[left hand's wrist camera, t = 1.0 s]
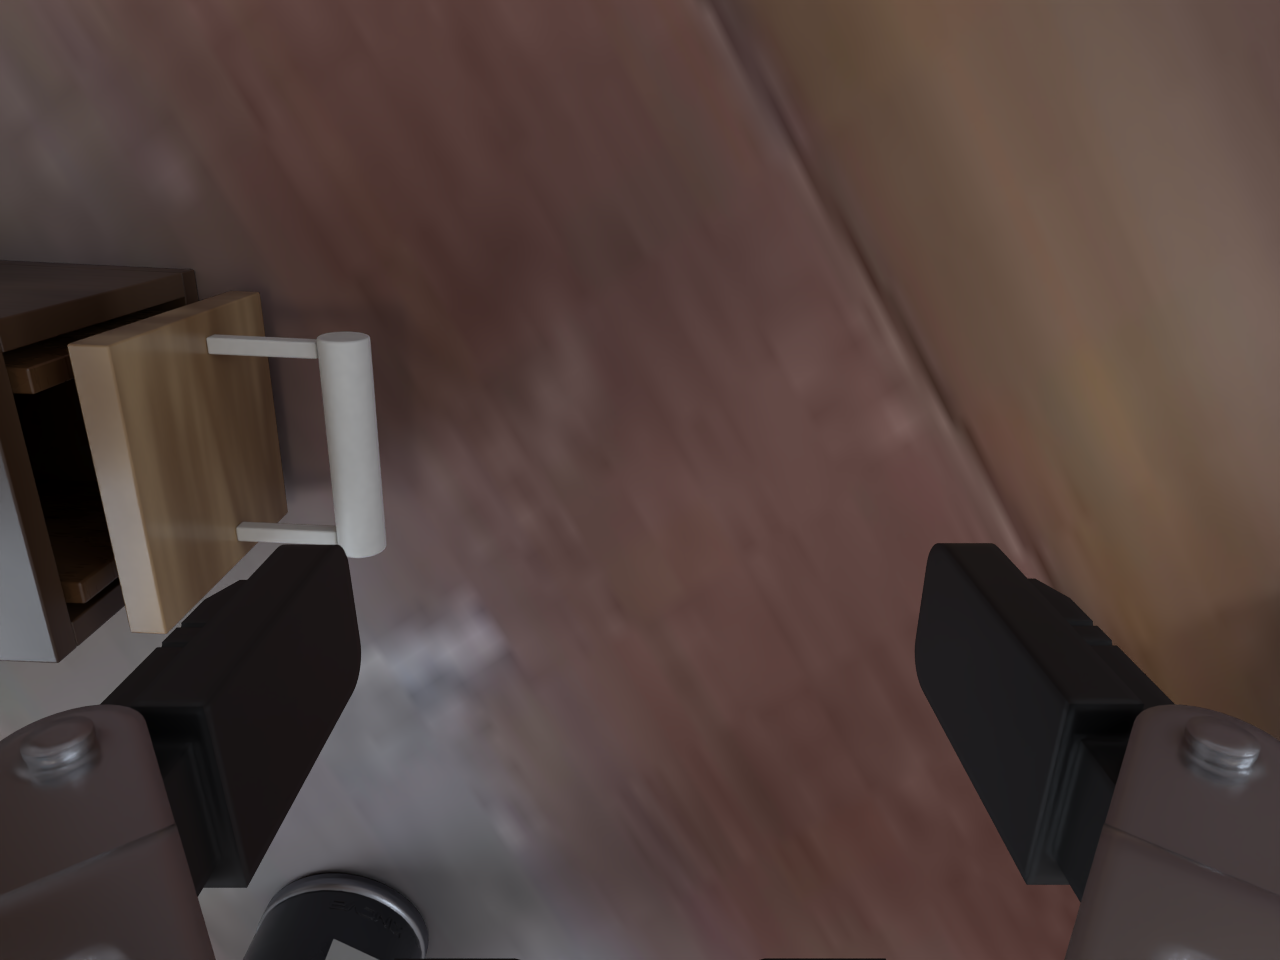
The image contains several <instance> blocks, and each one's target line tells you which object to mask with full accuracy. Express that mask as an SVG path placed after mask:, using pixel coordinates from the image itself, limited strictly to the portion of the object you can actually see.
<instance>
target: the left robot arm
mask: <svg viewBox="0 0 1280 960" xmlns="http://www.w3.org/2000/svg"><path fill="white" fill-rule="evenodd" d="M360 663H361V644H360V637H359V630H358V623H357V617H356V610H355V603H354V597H353V590H352V583H351V577H350V570H349V564H348V559H347V555H346V553H345V551H344V549H343V548H342V547H341V546H340V545H281V546H279V547H278V548H277V549H276V550H275V551H274V552H273V553H272V554H271V555H270V556H269V557H268V559H267V560H266V561H265V562H264V563H263V564H262V565H261V566H260V567H259V568H258V569H257V570H256V571H255V572H254V573H253V574H252V576H251V577H250V578H249V579H248V580H239V581H237V582H235V583H234V584H232V585H230V586H228V587H226V588H225V589H223V590H221V591H219V592H218V593H216V594H214V595H212V596H210V597H209V598H207V599H205V600H204V601H203V602H202V603H201V604H200V605H199V606H198V607H197V608H196V609H195V610H194V611H193V612H192V613H191V614H190V615H189V616H188V617H187V618H186V619H185V620H184V621H183V622H182V626H181V628H176V629H175V630H174V631H173V632H172V633H171V634H170V635H169V636H168V637H167V638H166V639H165V640H164V641H163V642H162V647H157V648H156V649H155V650H154V651H153V652H152V653H151V654H150V655H149V656H148V657H147V658H146V659H145V660H144V661H143V662H142V663H141V664H140V665H139V666H138V667H137V668H136V669H135V670H134V671H133V672H132V673H131V674H130V675H129V676H128V677H127V678H126V679H125V680H124V681H123V682H122V683H121V684H120V685H119V686H118V687H117V688H116V689H115V690H114V691H113V692H112V693H111V694H110V695H109V696H108V697H107V698H106V699H105V700H104V701H103V702H102V703H101V704H100V705H93V706H85V707H80V708H75V709H70V710H67V711H63V712H60V713H56V714H54V715H51V716H48V717H45V718H43V719H40V720H38V721H36V722H33V723H31V724H29V725H27V726H25V727H23V728H21V729H19V730H17V731H16V732H14V733H12V734H11V735H9V736H8V737H6V738H4V739H3V740H1V741H0V960H216V959H215V956H214V952H213V949H212V945H211V942H210V939H209V935H208V932H207V928H206V925H205V921H204V918H203V914H202V911H201V908H200V904H199V901H198V896H199V894H200V892H201V891H202V889H203V888H247V887H248V885H249V883H250V881H251V879H252V877H253V876H254V874H255V872H256V870H257V868H258V866H259V865H260V863H261V861H262V859H263V857H264V855H265V853H266V852H267V850H268V848H269V846H270V844H271V842H272V841H273V839H274V837H275V835H276V833H277V831H278V830H279V828H280V826H281V824H282V822H283V820H284V818H285V817H286V815H287V813H288V811H289V809H290V807H291V806H292V804H293V802H294V800H295V798H296V796H297V794H298V793H299V791H300V789H301V787H302V785H303V783H304V782H305V780H306V778H307V776H308V774H309V772H310V771H311V769H312V767H313V765H314V763H315V761H316V759H317V758H318V756H319V754H320V752H321V750H322V748H323V747H324V745H325V743H326V741H327V739H328V737H329V735H330V734H331V732H332V730H333V728H334V726H335V724H336V723H337V721H338V719H339V717H340V715H341V713H342V712H343V710H344V708H345V706H346V704H347V702H348V700H349V699H350V697H351V695H352V693H353V691H354V689H355V686H356V684H357V680H358V676H359V671H360ZM915 664H916V671H917V676H918V680H919V683H920V686H921V688H922V690H923V692H924V694H925V696H926V698H927V700H928V701H929V703H930V705H931V707H932V709H933V711H934V713H935V715H936V716H937V718H938V720H939V722H940V724H941V726H942V728H943V729H944V731H945V733H946V735H947V737H948V739H949V741H950V743H951V744H952V746H953V748H954V750H955V752H956V754H957V756H958V757H959V759H960V761H961V763H962V765H963V767H964V769H965V771H966V772H967V774H968V776H969V778H970V780H971V782H972V784H973V785H974V787H975V789H976V791H977V793H978V795H979V797H980V799H981V800H982V802H983V804H984V806H985V808H986V810H987V812H988V813H989V815H990V817H991V819H992V821H993V823H994V825H995V827H996V828H997V830H998V832H999V834H1000V836H1001V838H1002V840H1003V841H1004V843H1005V845H1006V847H1007V849H1008V851H1009V853H1010V854H1011V856H1012V858H1013V860H1014V862H1015V864H1016V866H1017V868H1018V869H1019V871H1020V873H1021V875H1022V877H1023V879H1024V881H1025V882H1026V884H1027V885H1070V886H1071V887H1072V889H1073V891H1074V892H1075V894H1076V896H1077V897H1078V899H1079V901H1080V902H1081V904H1080V908H1079V911H1078V914H1077V918H1076V921H1075V925H1074V928H1073V932H1072V935H1071V939H1070V942H1069V945H1068V949H1067V952H1066V956H1065V959H1064V960H1280V741H1279V740H1277V739H1276V738H1274V737H1272V736H1271V735H1269V734H1268V733H1266V732H1264V731H1263V730H1261V729H1259V728H1257V727H1255V726H1253V725H1251V724H1249V723H1247V722H1244V721H1242V720H1240V719H1237V718H1235V717H1232V716H1229V715H1226V714H1224V713H1220V712H1217V711H1213V710H1210V709H1205V708H1200V707H1195V706H1187V705H1175V704H1174V703H1173V702H1172V701H1171V700H1170V699H1169V698H1168V697H1167V696H1166V695H1165V694H1164V693H1163V692H1162V691H1161V690H1160V689H1159V688H1158V687H1157V686H1156V685H1155V684H1154V683H1153V682H1152V681H1151V680H1150V679H1149V678H1148V677H1147V676H1146V675H1145V674H1144V673H1143V672H1142V671H1141V670H1140V669H1139V668H1138V667H1137V666H1136V665H1135V663H1134V662H1133V661H1132V660H1131V659H1130V658H1129V657H1128V656H1127V655H1126V654H1125V653H1124V652H1123V651H1122V650H1121V649H1120V648H1119V647H1118V646H1112V640H1111V639H1110V638H1109V637H1108V636H1107V635H1106V634H1105V633H1104V632H1103V631H1102V630H1101V629H1100V628H1099V627H1098V626H1093V621H1092V620H1091V619H1090V618H1089V617H1088V616H1087V615H1086V614H1085V613H1084V612H1083V611H1082V610H1081V609H1080V608H1079V607H1078V606H1077V605H1076V604H1075V603H1074V602H1073V601H1072V600H1071V599H1070V598H1069V597H1067V596H1065V595H1063V594H1062V593H1060V592H1058V591H1056V590H1054V589H1053V588H1051V587H1049V586H1047V585H1046V584H1044V583H1042V582H1040V581H1038V580H1037V579H1027V578H1026V577H1025V576H1024V574H1023V573H1022V572H1021V571H1020V570H1019V569H1018V568H1017V567H1016V566H1015V565H1014V564H1013V563H1012V562H1011V561H1010V559H1009V558H1008V557H1007V556H1006V555H1005V554H1004V553H1003V552H1002V551H1001V550H1000V549H999V548H998V547H997V546H996V545H995V544H992V543H937V544H935V545H934V546H933V547H932V549H931V551H930V553H929V556H928V560H927V566H926V573H925V579H924V586H923V593H922V600H921V607H920V613H919V620H918V627H917V634H916V641H915ZM427 948H428V932H427V928H426V925H425V923H424V920H423V918H422V917H421V915H420V913H419V912H418V910H417V909H416V908H415V907H414V906H413V905H412V904H411V903H410V902H409V901H408V900H407V899H406V898H405V897H404V896H402V895H401V894H400V893H398V892H397V891H395V890H393V889H392V888H390V887H388V886H386V885H384V884H382V883H380V882H377V881H375V880H371V879H368V878H365V877H361V876H356V875H350V874H336V873H331V874H319V875H313V876H309V877H305V878H302V879H299V880H297V881H294V882H293V883H291V884H289V885H287V886H286V887H284V888H283V889H281V890H280V891H279V892H278V893H277V894H276V895H275V896H274V897H273V898H272V900H271V901H270V903H269V904H268V906H267V908H266V910H265V912H264V914H263V916H262V918H261V920H260V922H259V925H258V927H257V932H256V934H255V936H254V938H253V940H252V942H251V944H250V946H249V948H248V950H247V952H246V954H245V956H244V958H243V960H519V959H425V956H426V952H427ZM761 960H886V959H761Z"/></svg>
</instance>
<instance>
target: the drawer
mask: <svg viewBox="0 0 1280 960" xmlns="http://www.w3.org/2000/svg"><path fill="white" fill-rule="evenodd" d="M3 357H4V361H5V365H6V369H7V373H8V377H9V381H10V385H11V389H12V393H13V396H14V400H15V404H16V408H17V412H18V416H19V420H20V424H21V428H22V432H23V436H24V440H25V444H26V448H27V452H28V456H29V460H30V463H31V467H32V471H33V475H34V479H35V483H36V487H37V491H38V495H39V499H40V503H41V507H42V511H43V515H44V519H45V523H46V527H47V530H48V534H49V538H50V542H51V546H52V550H53V554H54V558H55V562H56V566H57V570H58V574H59V578H60V582H61V586H62V590H63V594H64V597H65V601H66V603H86V602H87V601H89V600H90V599H91V598H92V597H94V596H95V595H96V594H97V593H99V592H100V591H101V590H102V589H104V588H105V587H106V586H107V585H109V584H110V583H111V582H112V581H114V580H115V579H116V578H117V577H119V581H120V585H121V590H122V594H123V599H124V603H125V608H126V612H127V617H128V621H129V626H130V630H131V632H132V633H155V634H167V633H168V632H169V631H170V630H171V629H172V628H173V627H174V626H175V625H176V624H177V623H178V622H179V621H180V620H181V619H182V618H183V617H184V616H185V615H186V614H187V613H188V612H189V611H190V610H191V609H192V608H193V607H194V606H195V605H196V604H197V603H198V602H199V601H200V600H201V599H202V598H203V597H204V596H205V595H206V594H207V593H208V592H209V591H210V590H211V589H212V588H213V587H214V586H215V585H216V584H217V583H218V582H219V581H220V580H221V579H222V578H223V577H224V576H225V575H226V574H227V573H228V572H229V571H230V570H231V569H232V568H233V567H234V566H235V565H236V564H237V563H238V562H239V561H240V560H241V559H242V558H243V557H244V556H245V555H246V554H247V553H248V552H249V551H250V550H251V549H252V548H253V547H254V546H255V545H256V544H257V543H258V542H274V543H297V544H320V545H337V544H338V545H340V546H341V547H342V548H343V549H344V551H345V553H346V555H347V557H351V558H364V557H370V556H374V555H376V554H379V553H381V552H382V551H383V550H384V549H385V548H386V545H387V543H386V531H385V518H384V505H383V493H382V480H381V468H380V455H379V442H378V430H377V417H376V405H375V392H374V379H373V367H372V354H371V341H370V337H369V335H367V334H364V333H359V332H331V333H326V334H322V335H320V336H318V337H317V339H301V338H279V337H265V331H264V323H263V315H262V307H261V300H260V293H259V292H244V291H229V292H226V293H223V294H220V295H217V296H213V297H210V298H207V299H204V300H201V301H198V302H195V303H192V304H189V305H186V306H183V307H180V308H177V309H174V310H170V311H152V310H141V311H137V312H134V313H131V314H127V315H124V316H121V317H118V318H114V319H111V320H108V321H105V322H101V323H98V324H95V325H92V326H88V327H85V328H82V329H79V330H75V331H72V332H69V333H65V334H62V335H59V336H56V337H52V338H49V339H46V340H43V341H39V342H36V343H33V344H30V345H26V346H23V347H20V348H17V349H13V350H10V351H7V352H3ZM268 357H284V358H305V359H317V358H318V360H319V369H320V379H321V388H322V398H323V407H324V417H325V426H326V436H327V446H328V455H329V465H330V474H331V484H332V493H333V503H334V512H335V522H336V526H329V525H307V524H284V523H278V522H279V521H280V520H281V519H282V518H283V517H284V516H285V515H286V514H287V512H288V510H287V502H286V494H285V486H284V479H283V471H282V463H281V455H280V448H279V440H278V432H277V424H276V416H275V409H274V401H273V393H272V385H271V378H270V370H269V362H268Z"/></svg>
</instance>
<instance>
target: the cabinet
mask: <svg viewBox="0 0 1280 960" xmlns="http://www.w3.org/2000/svg"><path fill="white" fill-rule="evenodd" d="M198 301H199V300H198V293H197V287H196V281H195V274H194V270H189V269H168V268H147V267H127V266H106V265H85V264H64V263H44V262H23V261H2V260H0V661H23V662H47V663H58V662H60V661H61V660H62V659H64V658H65V657H66V656H67V655H68V654H69V653H70V652H72V651H73V650H74V649H75V648H76V647H77V646H79V645H80V644H81V643H82V642H83V641H84V640H86V639H87V638H88V637H89V636H90V635H91V634H93V633H94V632H95V631H96V630H97V629H98V628H99V627H101V626H102V625H103V624H104V623H105V622H106V621H108V620H109V619H110V618H111V617H112V616H113V615H114V614H116V613H117V612H118V611H119V610H120V609H121V608H123V607H124V606H125V603H124V599H123V594H122V590H121V585H120V581H119V577H117V578H116V579H115V580H114V581H112V582H111V583H110V584H109V585H107V586H106V587H105V588H104V589H102V590H101V591H100V592H99V593H97V594H96V595H95V596H94V597H92V598H91V599H90V600H89V601H87V602H86V603H66V601H65V597H64V594H63V590H62V586H61V582H60V578H59V574H58V570H57V566H56V562H55V558H54V554H53V550H52V546H51V542H50V538H49V534H48V530H47V527H46V523H45V519H44V515H43V511H42V507H41V503H40V499H39V495H38V491H37V487H36V483H35V479H34V475H33V471H32V467H31V463H30V460H29V456H28V452H27V448H26V444H25V440H24V436H23V432H22V428H21V424H20V420H19V416H18V412H17V408H16V404H15V400H14V396H13V393H12V389H11V385H10V381H9V377H8V373H7V369H6V365H5V361H4V357H3V352H7V351H10V350H13V349H17V348H20V347H23V346H26V345H30V344H33V343H36V342H39V341H43V340H46V339H49V338H52V337H56V336H59V335H62V334H65V333H69V332H72V331H75V330H79V329H82V328H85V327H88V326H92V325H95V324H98V323H101V322H105V321H108V320H111V319H114V318H118V317H121V316H124V315H127V314H131V313H134V312H137V311H141V310H152V311H170V310H174V309H177V308H180V307H183V306H186V305H189V304H192V303H195V302H198Z"/></svg>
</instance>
